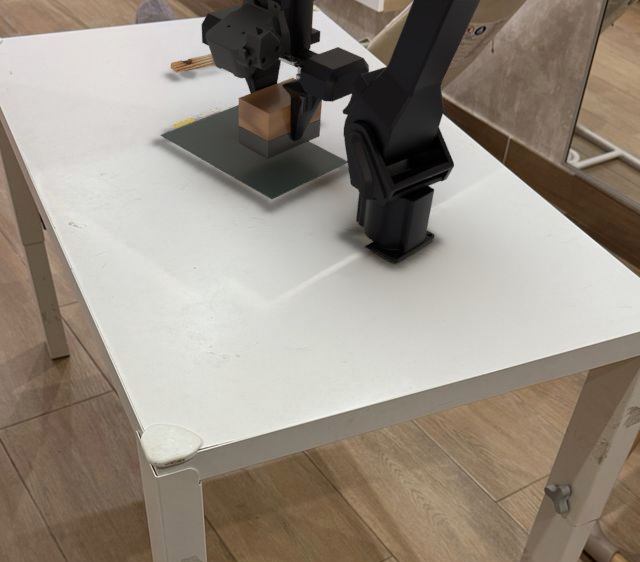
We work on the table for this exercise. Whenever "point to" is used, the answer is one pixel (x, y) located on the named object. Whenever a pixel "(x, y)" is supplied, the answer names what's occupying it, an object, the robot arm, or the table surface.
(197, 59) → the chopsticks in paper sleeve
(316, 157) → the slate board
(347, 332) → the table surface
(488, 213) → the table surface
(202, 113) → the chalk strip white
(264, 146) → the eraser
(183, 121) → the chalk strip yellow
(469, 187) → the table surface
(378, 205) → the robot arm
